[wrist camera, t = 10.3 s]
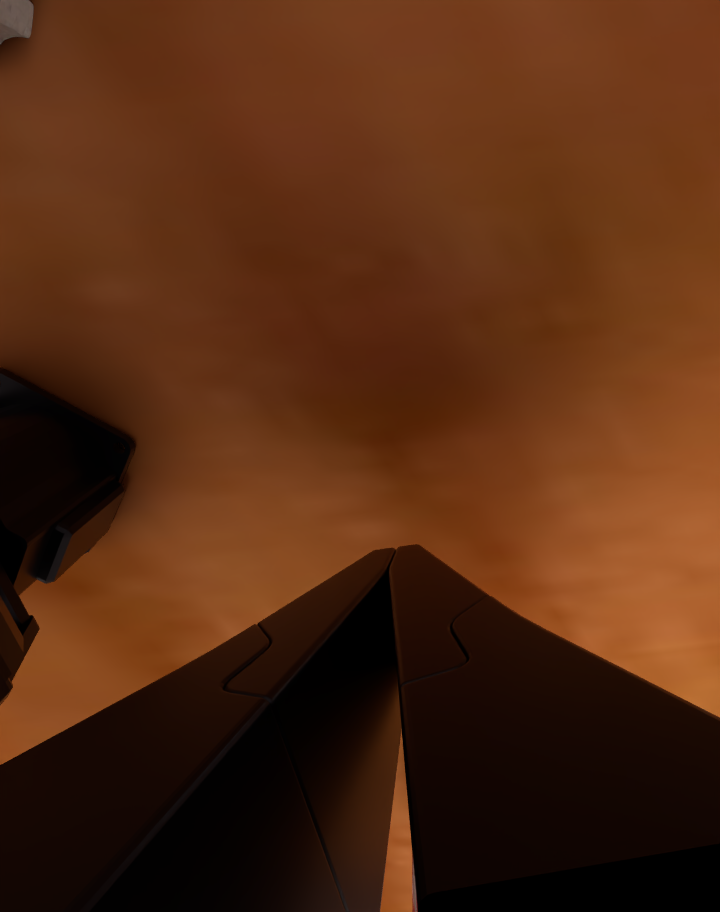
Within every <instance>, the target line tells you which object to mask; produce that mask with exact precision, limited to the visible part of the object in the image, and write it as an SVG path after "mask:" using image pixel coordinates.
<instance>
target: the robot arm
mask: <svg viewBox="0 0 720 912" xmlns="http://www.w3.org/2000/svg"><path fill="white" fill-rule="evenodd" d="M0 382H1V385H0V705H1V704H2V703H3V702H4V700H5V699H6V698H7V697H8V695H9V693H10V691H11V689H12V688H13V684H12V680H13V678H14V676H15V674H16V672H17V670H18V669H19V667H20V665H21V663H22V661H23V659H24V657H25V655H26V653H27V652H28V650H29V648H30V646H31V644H32V642H33V640H34V638H35V636H36V635H37V633H38V631H39V626H38V624H37V622H36V620H35V618H34V617H33V616H32V615H29V614H28V612H27V611H26V609H25V607H24V605H23V603H22V601H21V599H20V597H19V595H20V594H21V593H22V592H23V591H25V590H26V589H27V588H28V587H29V586H30V585H31V584H32V583H34V582H35V581H36V580H37V579H38V580H40V581H42V582H44V583H46V584H47V583H51V582H54V581H56V580H57V579H58V578H59V577H60V576H61V575H62V574H63V573H64V572H65V571H66V570H67V569H68V568H69V567H70V566H72V565H73V564H74V563H75V562H76V561H77V560H78V559H79V558H80V557H81V556H82V555H83V554H84V553H87V552H89V551H90V550H91V549H92V548H93V547H94V545H95V544H96V542H97V541H98V540H99V539H100V538H101V537H102V536H104V535H105V534H106V533H107V532H108V530H109V528H110V525H111V523H112V521H113V518H114V516H115V514H116V511H117V509H118V507H119V504H120V502H121V500H122V497H123V495H124V493H125V488H124V485H123V484H122V483H121V482H122V479H123V477H124V475H125V472H126V470H127V467H128V465H129V463H130V460H131V458H132V455H133V453H134V451H135V443H134V441H133V440H132V438H131V437H129V436H128V435H126V434H124V433H122V432H121V431H119V430H117V429H115V428H113V427H111V426H109V425H108V424H106V423H104V422H102V421H100V420H98V419H96V418H95V417H93V416H91V415H89V414H87V413H85V412H83V411H81V410H80V409H78V408H76V407H74V406H72V405H70V404H68V403H67V402H65V401H63V400H61V399H59V398H57V397H55V396H54V395H52V394H50V393H48V392H46V391H44V390H42V389H40V388H39V387H37V386H35V385H33V384H31V383H29V382H27V381H26V380H24V379H22V378H20V377H18V376H16V375H14V374H13V373H11V372H9V371H7V370H5V369H2V368H0ZM118 442H119V443H121V444H123V445H124V447H125V450H122V449H120V448H119V446H118ZM401 728H402V738H403V750H404V761H405V773H406V784H407V795H408V807H409V818H410V830H411V841H412V853H413V864H414V875H415V887H416V898H417V910H418V912H720V718H719V717H718V716H716V715H714V714H712V713H710V712H708V711H706V710H704V709H702V708H700V707H698V706H696V705H694V704H692V703H690V702H688V701H686V700H684V699H682V698H680V697H678V696H676V695H674V694H672V693H670V692H668V691H666V690H664V689H662V688H660V687H658V686H656V685H654V684H652V683H651V682H649V681H647V680H645V679H643V678H641V677H639V676H637V675H635V674H633V673H631V672H629V671H627V670H625V669H623V668H621V667H619V666H617V665H615V664H613V663H611V662H609V661H607V660H605V659H603V658H601V657H599V656H597V655H595V654H593V653H591V652H589V651H587V650H585V649H584V648H582V647H580V646H578V645H576V644H574V643H572V642H570V641H568V640H566V639H564V638H562V637H560V636H558V635H556V634H554V633H552V632H550V631H548V630H546V629H544V628H542V627H541V626H539V625H537V624H535V623H533V622H531V621H530V620H528V619H526V618H524V617H522V616H521V615H519V614H517V613H516V612H514V611H513V610H511V609H510V608H508V607H507V606H505V605H504V604H502V603H501V602H499V601H498V600H496V599H495V598H494V597H492V596H489V595H488V594H487V593H485V592H484V591H483V590H481V589H480V588H478V587H477V586H476V585H474V584H473V583H471V582H470V581H469V580H467V579H466V578H465V577H463V576H462V575H460V574H459V573H458V572H456V571H455V570H453V569H452V568H451V567H449V566H448V565H446V564H445V563H444V562H442V561H441V560H440V559H438V558H437V557H435V556H434V555H433V554H431V553H430V552H428V551H427V550H426V549H424V548H423V547H421V546H420V545H417V544H416V545H408V546H400V547H398V548H397V550H396V549H394V548H386V549H380V550H374V551H372V552H371V553H369V554H367V555H366V556H364V557H363V558H361V559H359V560H358V561H356V562H355V563H353V564H351V565H350V566H348V567H347V568H345V569H343V570H342V571H340V572H339V573H337V574H335V575H334V576H332V577H331V578H329V579H327V580H326V581H324V582H323V583H321V584H319V585H318V586H316V587H315V588H313V589H311V590H310V591H308V592H307V593H305V594H303V595H302V596H300V597H299V598H297V599H295V600H294V601H292V602H291V603H289V604H287V605H286V606H284V607H283V608H281V609H279V610H278V611H276V612H275V613H273V614H271V615H270V616H268V617H267V618H265V619H263V620H262V621H260V622H259V623H258V624H257V625H256V624H254V625H252V626H251V627H249V628H247V629H246V630H244V631H243V632H241V633H239V634H238V635H236V636H234V637H233V638H231V639H229V640H228V641H226V642H224V643H223V644H221V645H219V646H218V647H216V648H214V649H213V650H211V651H209V652H207V653H206V654H204V655H202V656H200V657H198V658H197V659H195V660H193V661H191V662H189V663H188V664H186V665H184V666H182V667H181V668H179V669H177V670H175V671H173V672H171V673H170V674H168V675H166V676H164V677H162V678H160V679H158V680H157V681H155V682H153V683H151V684H149V685H147V686H146V687H144V688H142V689H140V690H138V691H136V692H134V693H133V694H131V695H129V696H127V697H125V698H123V699H122V700H120V701H118V702H116V703H114V704H112V705H110V706H109V707H107V708H105V709H103V710H101V711H99V712H98V713H96V714H94V715H92V716H90V717H88V718H87V719H85V720H83V721H81V722H79V723H77V724H75V725H74V726H72V727H70V728H68V729H66V730H64V731H63V732H61V733H59V734H57V735H55V736H53V737H51V738H50V739H48V740H46V741H44V742H42V743H40V744H39V745H37V746H35V747H33V748H31V749H29V750H27V751H26V752H24V753H22V754H20V755H18V756H16V757H15V758H13V759H11V760H9V761H7V762H5V763H4V764H2V765H0V912H380V906H381V897H382V889H383V880H384V872H385V863H386V855H387V846H388V838H389V829H390V821H391V813H392V804H393V796H394V787H395V779H396V770H397V762H398V753H399V745H400V736H401Z"/></svg>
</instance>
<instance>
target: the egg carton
mask: <svg viewBox="0 0 720 912" xmlns="http://www.w3.org/2000/svg"><path fill="white" fill-rule="evenodd" d="M33 9H34V5H33V4H32V3H31V2H30V1H29V0H0V44H1V43H2V42H3V41H4V40H6V39H9V38H12V37H24V38H29V37H30V35H31V29H32V21H33Z"/></svg>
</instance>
